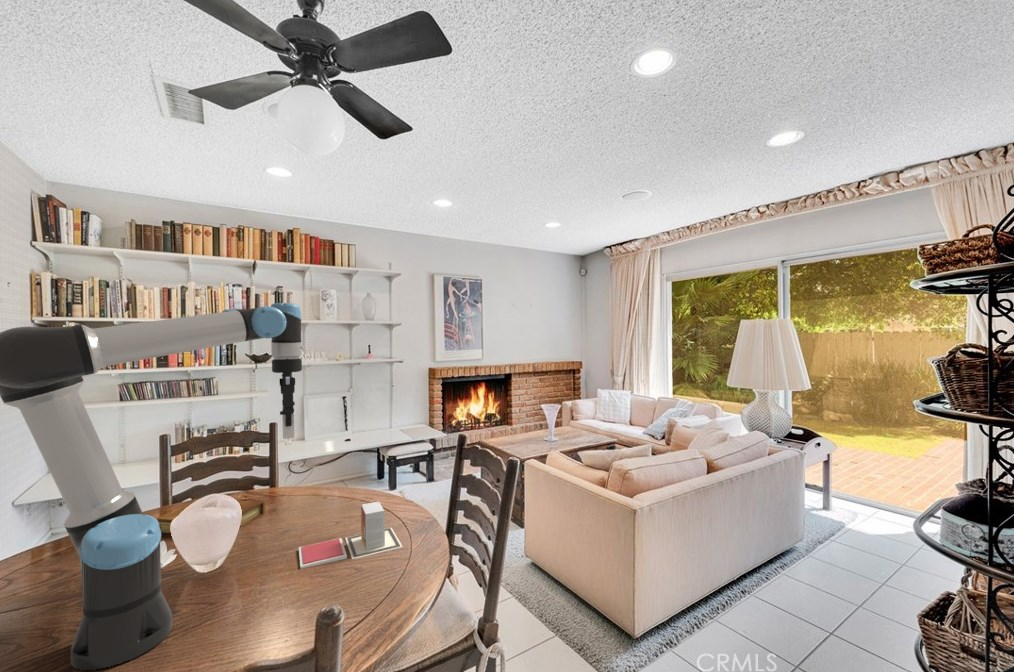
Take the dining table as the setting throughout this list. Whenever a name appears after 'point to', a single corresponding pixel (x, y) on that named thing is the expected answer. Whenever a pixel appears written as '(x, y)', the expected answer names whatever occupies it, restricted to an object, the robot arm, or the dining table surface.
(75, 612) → the dining table surface
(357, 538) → the card
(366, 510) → the small box
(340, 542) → the ink pad
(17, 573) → the dining table surface
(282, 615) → the dining table surface
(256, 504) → the diary
